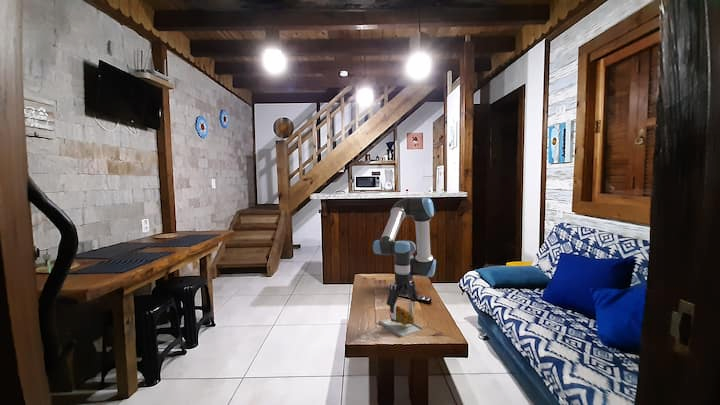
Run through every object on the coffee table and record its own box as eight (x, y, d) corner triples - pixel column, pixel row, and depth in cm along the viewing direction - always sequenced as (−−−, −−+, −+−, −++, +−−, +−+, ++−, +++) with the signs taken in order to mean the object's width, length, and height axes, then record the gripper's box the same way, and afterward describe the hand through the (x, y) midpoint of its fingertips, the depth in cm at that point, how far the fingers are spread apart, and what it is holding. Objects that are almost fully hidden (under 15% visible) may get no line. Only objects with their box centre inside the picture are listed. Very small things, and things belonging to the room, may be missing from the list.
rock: (402, 325, 158) (415, 312, 157) (404, 335, 150) (419, 322, 148) (386, 312, 156) (400, 299, 155) (388, 321, 148) (402, 308, 147)
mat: (399, 316, 166) (399, 314, 166) (422, 329, 151) (422, 327, 151) (378, 322, 159) (378, 320, 159) (400, 337, 144) (400, 334, 144)
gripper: (414, 267, 161) (414, 308, 162) (378, 274, 149) (379, 318, 150) (424, 270, 155) (424, 313, 156) (388, 278, 143) (388, 324, 144)
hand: (402, 316), depth 153 cm, fingers closed on rock, 11 cm apart
